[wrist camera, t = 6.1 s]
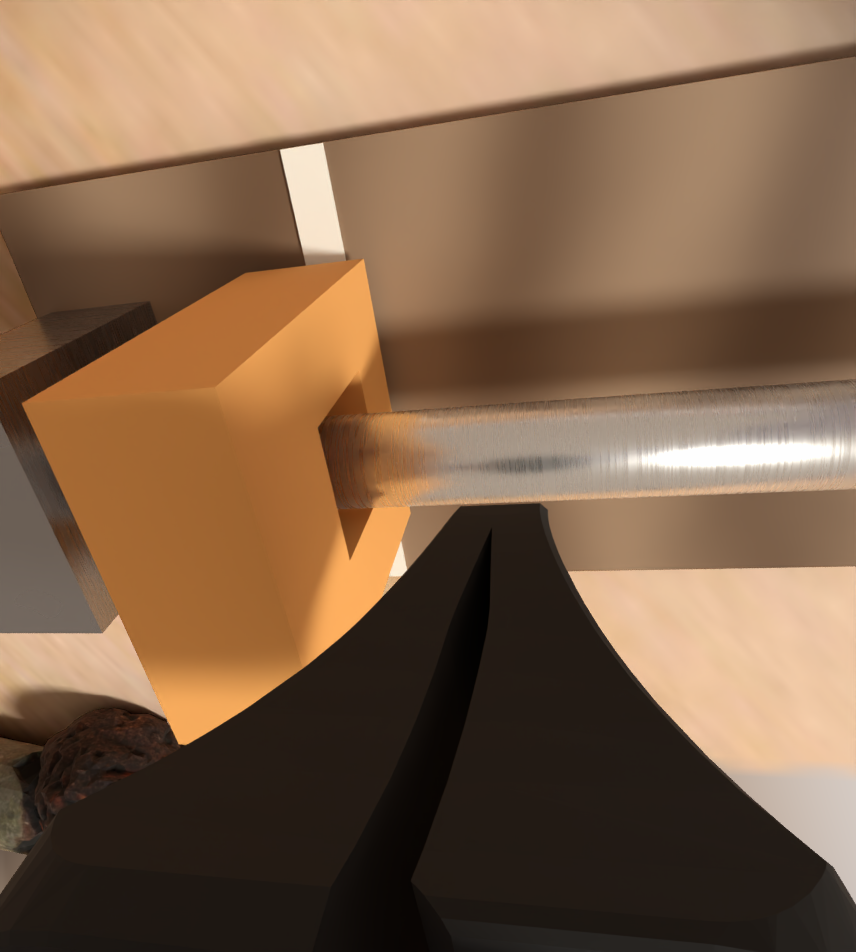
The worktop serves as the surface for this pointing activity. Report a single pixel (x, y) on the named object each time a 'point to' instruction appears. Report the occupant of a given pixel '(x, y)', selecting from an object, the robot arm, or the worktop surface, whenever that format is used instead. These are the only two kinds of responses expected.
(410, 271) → the rod stand
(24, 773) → the dark brown lumpy piece
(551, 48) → the worktop surface
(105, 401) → the collar
